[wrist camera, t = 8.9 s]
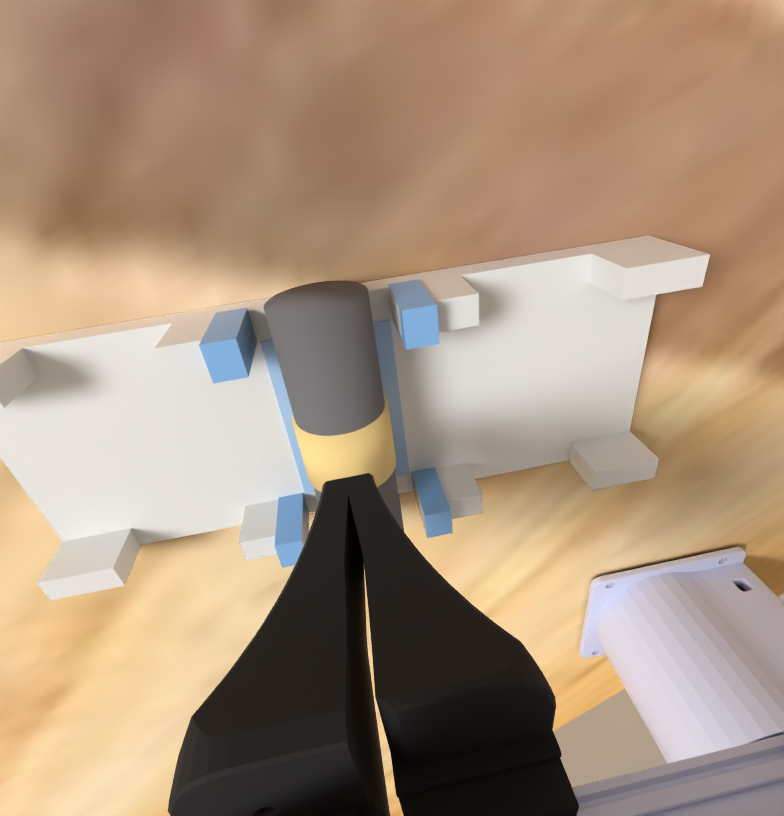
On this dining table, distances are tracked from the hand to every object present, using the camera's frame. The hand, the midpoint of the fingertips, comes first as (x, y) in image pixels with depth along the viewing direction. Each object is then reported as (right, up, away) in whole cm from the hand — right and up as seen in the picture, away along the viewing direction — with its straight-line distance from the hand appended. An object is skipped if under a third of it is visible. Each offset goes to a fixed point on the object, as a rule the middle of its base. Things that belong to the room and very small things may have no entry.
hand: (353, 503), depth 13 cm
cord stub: (-1, +2, +4) cm, 5 cm away
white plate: (-1, +3, +5) cm, 6 cm away
